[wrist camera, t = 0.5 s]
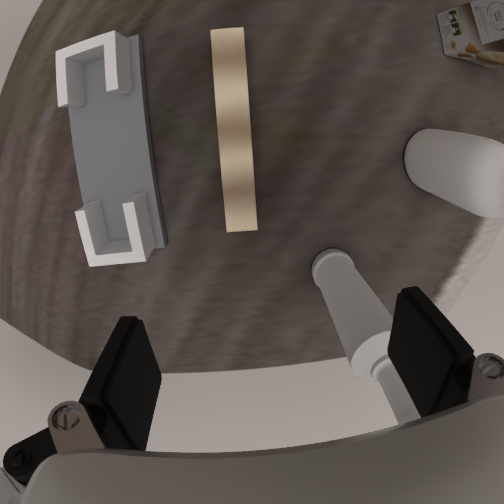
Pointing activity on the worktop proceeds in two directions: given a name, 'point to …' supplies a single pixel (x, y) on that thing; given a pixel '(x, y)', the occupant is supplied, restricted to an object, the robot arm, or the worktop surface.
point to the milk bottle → (459, 169)
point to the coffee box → (474, 32)
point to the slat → (234, 128)
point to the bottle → (362, 327)
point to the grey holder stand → (112, 148)
